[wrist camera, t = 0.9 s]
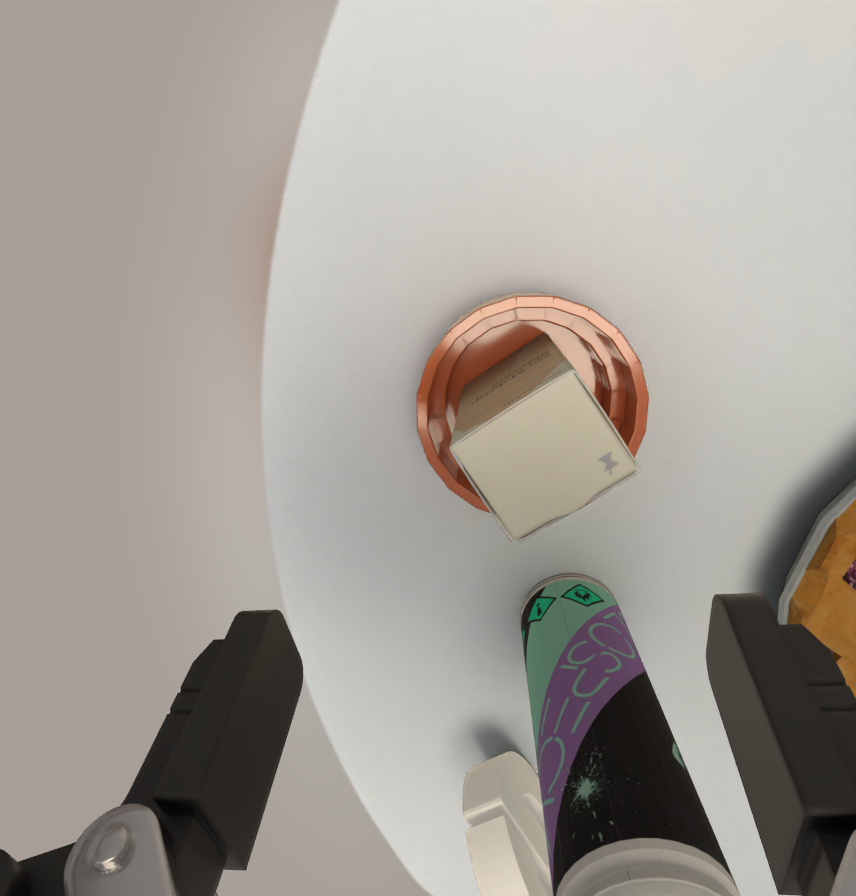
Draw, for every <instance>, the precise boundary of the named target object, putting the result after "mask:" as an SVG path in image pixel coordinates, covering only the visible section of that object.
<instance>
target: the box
mask: <svg viewBox="0 0 856 896" xmlns="http://www.w3.org/2000/svg"><path fill="white" fill-rule="evenodd" d="M450 451H451V453H452V455H453V456H454V458H455V460H456V461H457V463H458V464H459V466H460V467H461V469H462V470H463V472H464V473H465V475H466V476H467V478H468V480H469V481H470V483H471V484H472V486H473V487H474V489H475V490H476V492H477V493H478V495H479V496H480V498H481V499H482V501H483V502H484V504H485V505H486V507H487V508H488V510H489V511H490V512H491V514H492V516H493V517H494V519H495V520H496V521H497V523H498V524H499V526H500V527H501V528H502V530H503V531H504V533H505V534H506V536H507V537H508V539H509V540H510V541H511V542H514V543H518V542H521V541H523V540H525V539H527V538H528V537H530V536H532V535H534V534H536V533H538V532H539V531H541V530H543V529H545V528H547V527H548V526H550V525H552V524H554V523H555V522H557V521H559V520H561V519H562V518H564V517H566V516H567V515H569V514H571V513H573V512H574V511H576V510H578V509H580V508H581V507H583V506H585V505H586V504H588V503H590V502H591V501H593V500H595V499H596V498H598V497H600V496H601V495H603V494H605V493H606V492H608V491H610V490H611V489H613V488H615V487H616V486H618V485H620V484H621V483H623V482H625V481H626V480H628V479H629V478H631V477H633V476H634V475H636V474H638V472H639V471H640V467H639V465H638V463H637V462H636V460H635V459H634V457H633V455H632V454H631V452H630V450H629V449H628V447H627V445H626V444H625V442H624V441H623V439H622V437H621V436H620V434H619V433H618V431H617V430H616V428H615V427H614V425H613V423H612V422H611V420H610V419H609V417H608V416H607V414H606V413H605V411H604V410H603V408H602V407H601V405H600V404H599V402H598V401H597V399H596V398H595V397H594V395H593V394H592V392H591V391H590V389H589V388H588V387H587V385H586V384H585V382H584V381H583V379H582V378H581V376H580V375H579V374H578V372H577V371H576V370H575V368H574V367H573V366H572V364H571V363H570V362H569V360H568V359H567V358H566V357H565V356H564V354H563V353H562V352H561V351H560V349H559V348H558V347H557V346H556V344H555V343H554V342H553V340H552V339H551V338H550V336H549V335H548V334H547V333H543V334H541V335H539V336H538V337H536V338H535V339H533V340H532V341H530V342H528V343H527V344H525V345H524V346H522V347H521V348H519V349H518V350H516V351H515V352H513V353H512V354H510V355H509V356H507V357H506V358H504V359H502V360H501V361H499V362H498V363H497V364H495V365H494V366H492V367H491V368H489V369H487V370H486V371H484V372H483V373H482V374H480V375H479V376H477V377H476V378H474V379H473V380H471V381H470V382H468V383H467V384H465V385H464V386H463V389H462V394H461V398H460V403H459V408H458V412H457V417H456V421H455V426H454V431H453V435H452V440H451V444H450Z"/></svg>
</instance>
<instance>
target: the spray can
mask: <svg viewBox="0 0 856 896" xmlns="http://www.w3.org/2000/svg"><path fill="white" fill-rule="evenodd" d="M521 630H522V639H523V647H524V656H525V664H526V673H527V681H528V689H529V698H530V706H531V715H532V723H533V732H534V740H535V748H536V757H537V765H538V774H539V782H540V791H541V799H542V807H543V816H544V824H545V833H546V841H547V850H548V858H549V866H550V875H551V883H552V892H553V896H740V894H739V891H738V889H737V887H736V884H735V882H734V879H733V877H732V875H731V872H730V870H729V867H728V865H727V863H726V860H725V858H724V856H723V853H722V851H721V848H720V846H719V844H718V841H717V839H716V837H715V834H714V832H713V829H712V827H711V825H710V822H709V820H708V818H707V815H706V813H705V810H704V808H703V806H702V803H701V801H700V799H699V796H698V794H697V791H696V789H695V787H694V784H693V782H692V779H691V777H690V775H689V772H688V770H687V768H686V765H685V763H684V760H683V758H682V756H681V753H680V751H679V749H678V746H677V744H676V741H675V739H674V737H673V734H672V732H671V730H670V727H669V725H668V722H667V720H666V718H665V715H664V713H663V711H662V708H661V706H660V703H659V701H658V699H657V696H656V694H655V691H654V689H653V687H652V684H651V682H650V680H649V677H648V675H647V672H646V670H645V668H644V665H643V663H642V661H641V658H640V656H639V653H638V651H637V649H636V646H635V644H634V642H633V639H632V637H631V634H630V632H629V630H628V627H627V625H626V623H625V620H624V618H623V615H622V613H621V611H620V608H619V606H618V604H617V602H616V600H615V598H614V596H613V595H612V594H611V592H610V591H609V590H608V589H607V588H606V587H605V586H604V585H603V584H602V583H600V582H598V581H597V580H595V579H593V578H590V577H587V576H584V575H579V574H562V575H557V576H553V577H551V578H548V579H546V580H544V581H543V582H541V583H539V584H538V585H537V586H536V587H535V588H534V589H532V590H531V591H530V593H529V594H528V596H527V597H526V599H525V601H524V603H523V606H522V611H521Z"/></svg>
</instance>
